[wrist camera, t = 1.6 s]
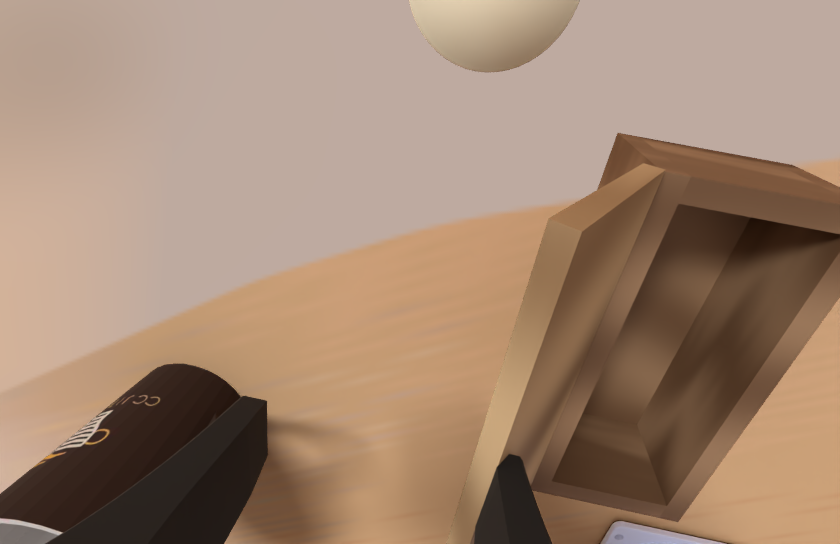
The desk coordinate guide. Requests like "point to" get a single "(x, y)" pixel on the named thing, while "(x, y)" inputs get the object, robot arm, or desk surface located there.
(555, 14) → the cream domed disc
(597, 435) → the walnut box
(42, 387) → the desk surface
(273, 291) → the desk surface
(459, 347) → the desk surface
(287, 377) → the desk surface
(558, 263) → the lid
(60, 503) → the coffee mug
